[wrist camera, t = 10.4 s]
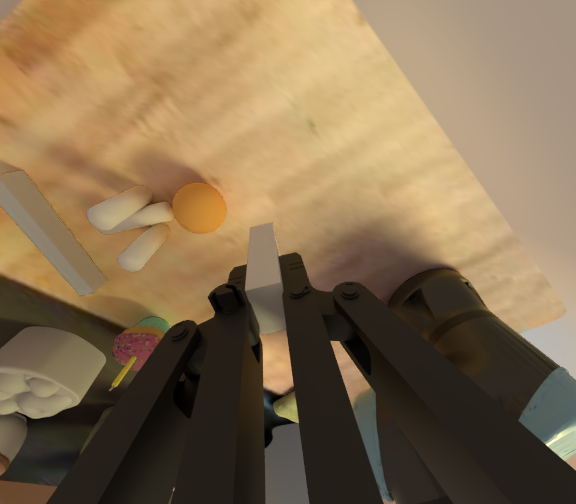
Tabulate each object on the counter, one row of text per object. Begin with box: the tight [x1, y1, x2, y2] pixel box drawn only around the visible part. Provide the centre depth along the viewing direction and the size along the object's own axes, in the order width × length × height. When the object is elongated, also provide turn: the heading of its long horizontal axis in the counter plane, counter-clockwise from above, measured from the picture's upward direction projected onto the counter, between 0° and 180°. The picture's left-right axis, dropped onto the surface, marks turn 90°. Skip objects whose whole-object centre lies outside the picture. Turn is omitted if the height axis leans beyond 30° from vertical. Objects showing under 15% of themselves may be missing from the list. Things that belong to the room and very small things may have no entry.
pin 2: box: [117, 222, 170, 272], centre depth 27 cm, size 2×2×8 cm
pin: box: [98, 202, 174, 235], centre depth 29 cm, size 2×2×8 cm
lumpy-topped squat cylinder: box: [0, 326, 106, 419], centre depth 36 cm, size 10×13×9 cm
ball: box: [172, 183, 226, 234], centre depth 27 cm, size 6×6×6 cm
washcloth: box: [273, 390, 299, 423], centre depth 56 cm, size 13×18×3 cm
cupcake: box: [109, 317, 170, 391], centre depth 34 cm, size 9×8×12 cm
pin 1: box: [87, 185, 152, 230], centre depth 25 cm, size 2×2×8 cm
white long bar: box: [0, 170, 107, 296], centre depth 28 cm, size 2×16×3 cm, turn 12°
